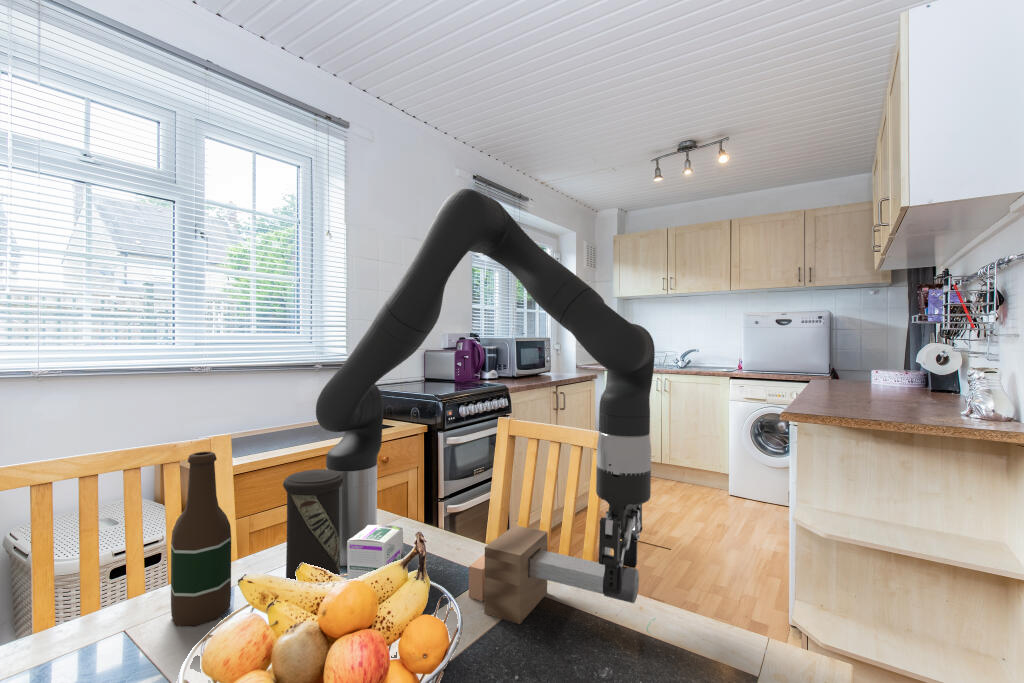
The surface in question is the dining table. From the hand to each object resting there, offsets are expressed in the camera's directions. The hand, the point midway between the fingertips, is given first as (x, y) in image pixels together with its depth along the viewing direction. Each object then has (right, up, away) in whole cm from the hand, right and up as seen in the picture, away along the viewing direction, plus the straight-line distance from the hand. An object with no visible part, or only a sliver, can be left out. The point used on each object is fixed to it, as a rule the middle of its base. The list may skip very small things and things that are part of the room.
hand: (621, 578), depth 69 cm
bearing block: (-15, -8, +8) cm, 18 cm away
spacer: (-19, -5, +10) cm, 22 cm away
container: (-47, -8, +9) cm, 49 cm away
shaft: (-7, -3, +4) cm, 9 cm away
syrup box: (-34, -8, -1) cm, 35 cm away
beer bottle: (-62, -7, +4) cm, 63 cm away
